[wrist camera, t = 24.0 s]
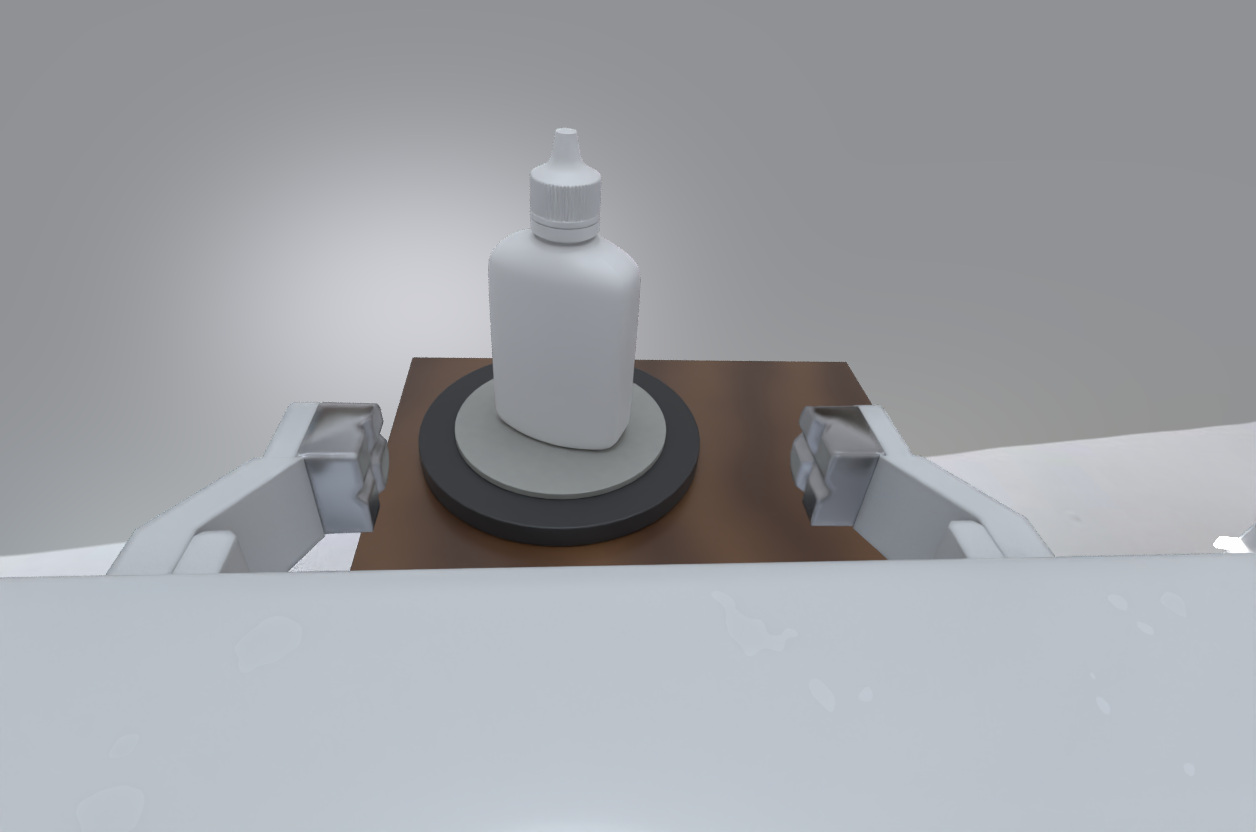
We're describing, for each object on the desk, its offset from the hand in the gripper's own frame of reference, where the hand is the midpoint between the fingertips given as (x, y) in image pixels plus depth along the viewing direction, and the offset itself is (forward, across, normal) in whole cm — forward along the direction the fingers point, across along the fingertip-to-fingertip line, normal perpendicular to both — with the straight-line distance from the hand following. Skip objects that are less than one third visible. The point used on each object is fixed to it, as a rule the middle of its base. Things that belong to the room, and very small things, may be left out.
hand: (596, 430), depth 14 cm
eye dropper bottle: (+13, 0, +10) cm, 17 cm away
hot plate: (+13, 0, +11) cm, 17 cm away
